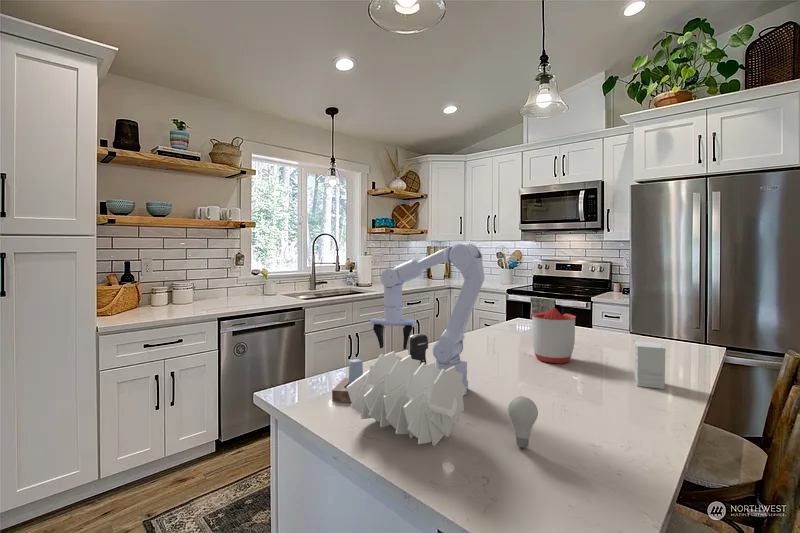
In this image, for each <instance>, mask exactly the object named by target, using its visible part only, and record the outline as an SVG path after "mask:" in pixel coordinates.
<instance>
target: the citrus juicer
mask: <svg viewBox="0 0 800 533" xmlns="http://www.w3.org/2000/svg"><path fill="white" fill-rule="evenodd" d="M531 316H532V317H531V319H532V320H531V321H532V324H531V327H532V328H531V339H532V340H531V341H532V348H533V352H534V355H535V357H536V359H537V360H538V361H540V362H545V363H552V364H558V363H559V364H558V365H563V364H564V363H565V364H566V363H568V362H570V360H571V358H572V355H573V351H574V349H575V348H574V347H575V343H576V342H575V340H576V339H575V338H576V337H575V336H576V318H577V316H576V315H573V314H571V313H564V314H563V315H562V314H561V313H560V311H559V310H558V308H555V306H554V307H551V308H550V309H549V310H548V311H540V312H533V313H531Z"/></svg>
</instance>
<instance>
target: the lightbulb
mask: <svg viewBox="0 0 800 533" xmlns="http://www.w3.org/2000/svg"><path fill="white" fill-rule="evenodd" d="M507 413H508V417H509V419H510V421H511V423H512V425H513V429H514V435H515V440H516V444H515V445H516V446H517V447H519V448H521V449H525V448H528V447H529V443H530V442H529V441H530V437H531V431H532V429H533V426H534V425H535V423H536V421H537V420H538V415H539V409H538V407H537V405H536V403H535V402H534V401H533V400H532V399H531V398H529V397H526V396H524V395H523V396H522V395H521V396H516V397H515V398H513V399H511V401H510V402H509V404H508V407H507Z"/></svg>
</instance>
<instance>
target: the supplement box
mask: <svg viewBox="0 0 800 533" xmlns="http://www.w3.org/2000/svg"><path fill="white" fill-rule="evenodd" d="M666 350H667V349H666V348H665V346H664V345H663V344H662V343H661V342H653V341H652V342H651V341H650V342H649V341H637V340H636V341H634V381H635V383H636V386H637V387H641V388H648V389H649V388H650V389H658V390H665V388H666V387H665V382H666V378H665V377H666V376H665V375H666Z"/></svg>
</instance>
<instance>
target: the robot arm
mask: <svg viewBox="0 0 800 533" xmlns="http://www.w3.org/2000/svg"><path fill="white" fill-rule="evenodd" d="M483 257H484V256H483V254H482V252H481V251H480V250H479V248H478V246H476V245H475V244H473V243H469V244H462V243H457V244H454V245H453V246H447V247H445V248H443V249H440V250H438V251H436V252H434V253H432V254H430V255H428V256H426V257H424V258H422V259H420V260H419V259H417V258H407V259H405V260H406V261H405V262H403V263H401V264H395V265H394V266H393V268H386V269H385V270H383V271H382V272H381V274H380V282H381V285H383V303H384V304H383V312H384V313H383V316H384V317H382V318H371V319H370V326H373V327H372V329H373V331H374V332H373V333H375V336H376V339H377V341H378V345H379V349H383V348H384V329H385V328H384V326H387V327H388V326H390V327H403V328H402V331H403V332H402V333H403V344H402V346H403V347H402V349H403V350H406V349H408V346H407V345H408V340H409V337H410V336H411V332H412V330H413V328H416V326H417V319H407V318H403V286H404V284H405V283H407V282H409V281H411V280H414V279H417V278H418V277H421V276H422V275H423V274H424V270H428V269H430V268H432V267H436V266H438V265H441V264H444V263H446V264H447V263H448V264H451V263H452V265H453V266H454V267H455V268H456V269H457V270H458V271H459V272H460V273H461V275H462V277H463V280H464V281H463V283H462V286H461V288H460V291H459V293H458V297H457V298H456V302H455V305H454V307H453V309H452V313H451V315H450V318H449V320H448V323H447V326H446V328H445V330H444V331H443V333H442V334H441V335H440V337H439V340H438V341H437V342H436V343H434V345H433V347H432V356H433V357H434V359H435V366H436V367H437V368H438V369H440V370H442V369H445V370H447V369H449V368H451V367H453V366H455V369H456V371H457V372H460V373H462V374H463V378H462V382H463V384H464V386H465V388H466V392H465V394H464V396H466V395H467V392H468V390H467V389H468V387H469V380H468V361H465V360H464V361H463V360H461V356H460V355H461V354H462V352H463V350H464V340H465V334H464V332H465V330H466V327H467V325H468V322H469V320H470V317H471V314H472V311H473V310H474V308H475V307H474V306H475V304H476V302H477V298H478V297H479V293H480V291H481V288H482V287H483V284H484V281H485V272H484V264H483Z"/></svg>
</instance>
